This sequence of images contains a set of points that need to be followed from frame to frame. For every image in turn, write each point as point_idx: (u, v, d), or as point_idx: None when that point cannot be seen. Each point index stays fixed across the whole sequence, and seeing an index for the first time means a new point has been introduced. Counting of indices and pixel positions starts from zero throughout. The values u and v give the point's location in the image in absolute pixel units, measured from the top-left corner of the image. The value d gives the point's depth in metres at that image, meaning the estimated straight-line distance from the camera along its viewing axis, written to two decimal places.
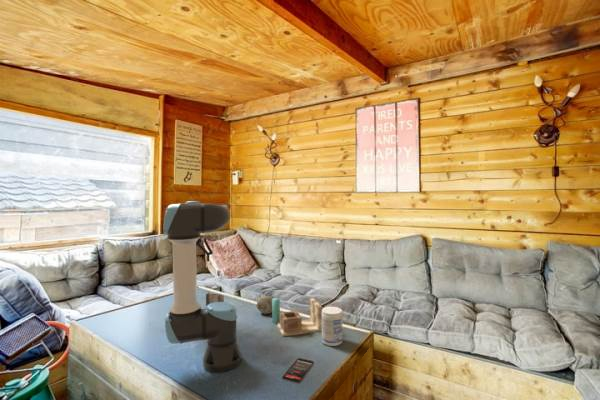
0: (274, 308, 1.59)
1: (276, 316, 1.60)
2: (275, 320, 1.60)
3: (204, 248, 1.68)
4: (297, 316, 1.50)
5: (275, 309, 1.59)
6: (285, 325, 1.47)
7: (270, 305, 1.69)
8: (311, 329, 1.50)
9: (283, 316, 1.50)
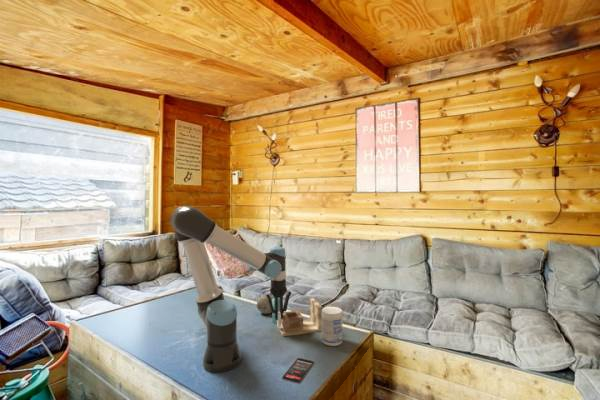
0: (274, 308, 1.59)
1: None
2: (275, 320, 1.60)
3: None
4: (299, 316, 1.51)
5: None
6: (287, 325, 1.47)
7: None
8: (311, 329, 1.50)
9: (285, 316, 1.51)
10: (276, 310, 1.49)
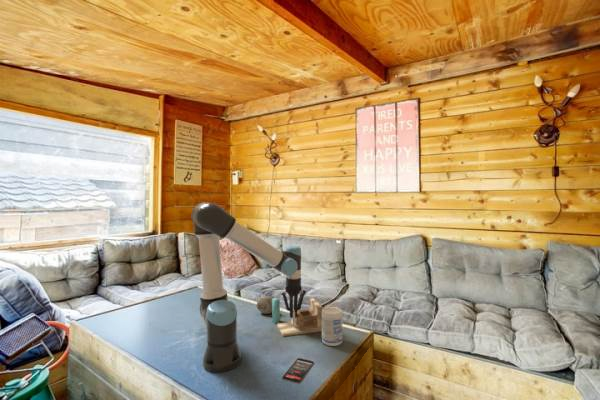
0: (274, 308, 1.59)
1: (276, 316, 1.60)
2: (275, 320, 1.60)
3: None
4: (313, 314, 1.53)
5: (275, 309, 1.59)
6: (301, 323, 1.49)
7: (270, 305, 1.69)
8: (311, 329, 1.50)
9: (298, 314, 1.53)
10: (291, 308, 1.51)
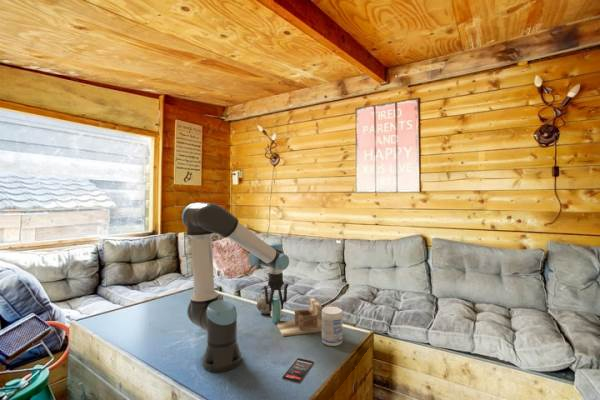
0: (274, 308, 1.59)
1: (276, 316, 1.59)
2: (275, 320, 1.60)
3: None
4: (313, 314, 1.53)
5: (275, 309, 1.59)
6: (301, 323, 1.49)
7: None
8: (311, 329, 1.50)
9: (298, 314, 1.53)
10: (270, 302, 1.59)
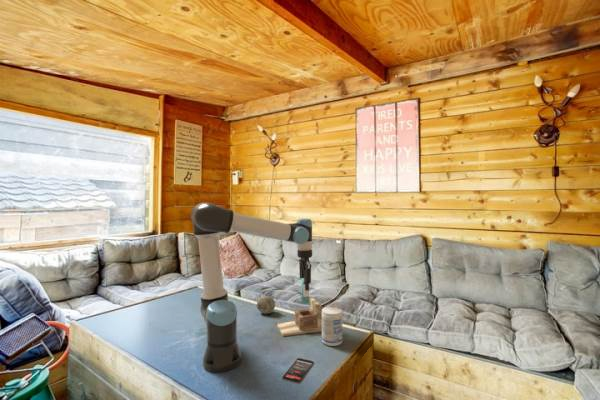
0: None
1: (301, 296, 1.54)
2: (301, 299, 1.55)
3: None
4: (313, 314, 1.53)
5: (301, 288, 1.55)
6: (301, 323, 1.49)
7: (270, 305, 1.69)
8: (311, 329, 1.50)
9: (298, 314, 1.53)
10: (301, 277, 1.57)
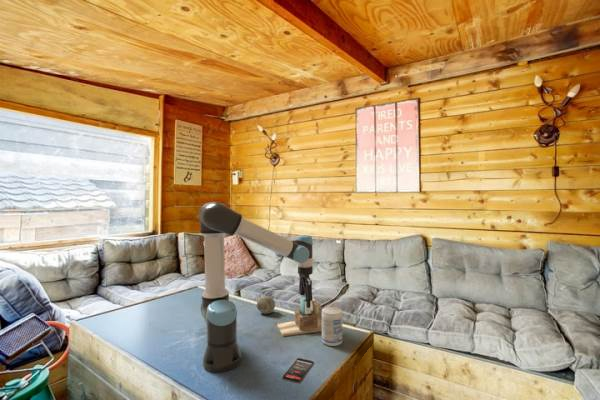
0: None
1: None
2: None
3: None
4: (313, 314, 1.53)
5: None
6: (301, 323, 1.49)
7: (270, 305, 1.69)
8: (311, 329, 1.50)
9: (298, 314, 1.53)
10: (300, 291, 1.58)
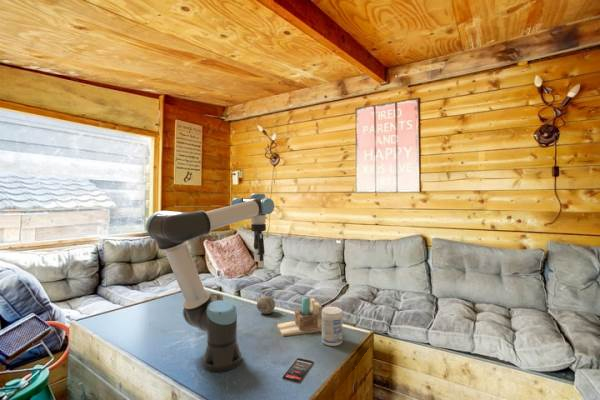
0: None
1: None
2: None
3: None
4: (313, 314, 1.53)
5: None
6: (301, 323, 1.49)
7: (270, 305, 1.69)
8: (311, 329, 1.50)
9: (298, 314, 1.53)
10: (254, 246, 1.63)
